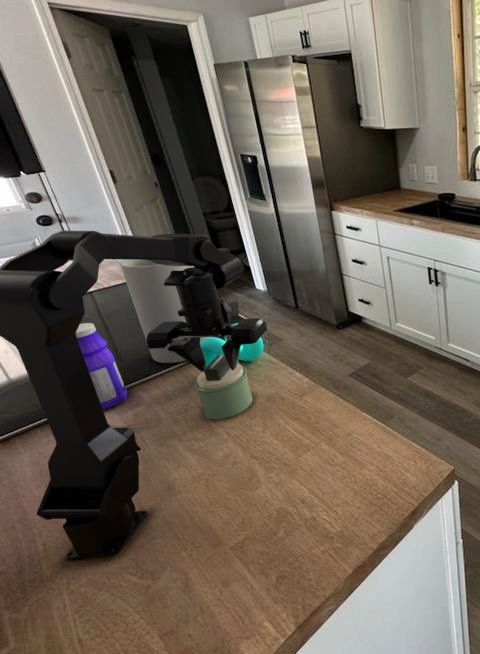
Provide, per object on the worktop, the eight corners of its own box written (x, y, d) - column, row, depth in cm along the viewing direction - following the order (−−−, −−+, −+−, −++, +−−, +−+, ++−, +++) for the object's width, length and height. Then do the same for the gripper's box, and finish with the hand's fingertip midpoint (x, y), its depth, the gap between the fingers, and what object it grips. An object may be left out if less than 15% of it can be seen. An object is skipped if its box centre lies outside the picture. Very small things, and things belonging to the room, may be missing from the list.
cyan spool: (269, 360, 101) (261, 324, 97) (233, 384, 92) (223, 345, 88) (237, 353, 103) (228, 317, 100) (199, 375, 94) (188, 337, 91)
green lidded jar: (241, 418, 82) (232, 385, 79) (194, 421, 81) (183, 388, 78) (260, 390, 90) (253, 359, 87) (217, 393, 89) (208, 362, 86)
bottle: (83, 403, 85) (51, 329, 78) (118, 388, 90) (90, 317, 83) (99, 415, 82) (67, 339, 75) (134, 398, 86) (107, 326, 80)
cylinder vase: (213, 355, 102) (187, 261, 93) (148, 370, 96) (113, 270, 87) (215, 333, 112) (191, 246, 103) (156, 345, 105) (126, 253, 96)
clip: (220, 380, 80) (216, 367, 79) (206, 381, 80) (202, 368, 79) (232, 365, 85) (229, 353, 84) (220, 366, 85) (216, 353, 83)
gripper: (270, 281, 85) (283, 346, 91) (171, 283, 83) (191, 350, 88) (245, 304, 75) (262, 376, 81) (131, 308, 72) (157, 382, 78)
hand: (219, 369), depth 82 cm, fingers open, 5 cm apart
